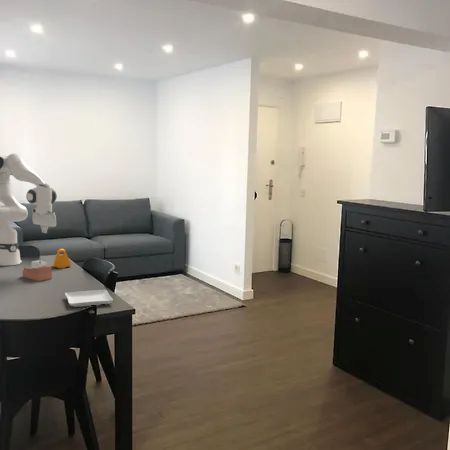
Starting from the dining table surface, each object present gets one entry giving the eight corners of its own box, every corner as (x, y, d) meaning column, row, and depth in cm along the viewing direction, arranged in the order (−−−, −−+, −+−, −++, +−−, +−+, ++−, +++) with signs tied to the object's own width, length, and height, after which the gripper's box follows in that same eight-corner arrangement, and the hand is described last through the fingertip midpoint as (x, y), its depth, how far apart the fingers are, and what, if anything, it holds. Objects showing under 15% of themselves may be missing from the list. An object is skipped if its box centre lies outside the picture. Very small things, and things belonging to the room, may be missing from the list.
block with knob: (31, 271, 296) (31, 260, 295) (39, 270, 300) (39, 259, 299) (39, 273, 291) (39, 262, 291) (46, 272, 295) (46, 261, 295)
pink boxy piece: (22, 276, 299) (22, 264, 298) (36, 274, 306) (36, 262, 305) (38, 281, 289) (38, 268, 288) (51, 278, 297) (51, 266, 296)
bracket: (69, 265, 336) (69, 247, 335) (70, 267, 330) (70, 249, 328) (52, 265, 332) (52, 248, 331) (53, 268, 326) (53, 250, 324)
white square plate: (69, 309, 238) (69, 302, 238) (64, 298, 258) (64, 291, 257) (113, 306, 247) (113, 299, 246) (105, 295, 266) (105, 289, 266)
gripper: (59, 211, 304) (59, 234, 305) (39, 208, 316) (39, 230, 317) (50, 212, 298) (50, 235, 300) (30, 209, 311) (30, 231, 312)
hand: (44, 232), depth 309 cm, fingers closed
